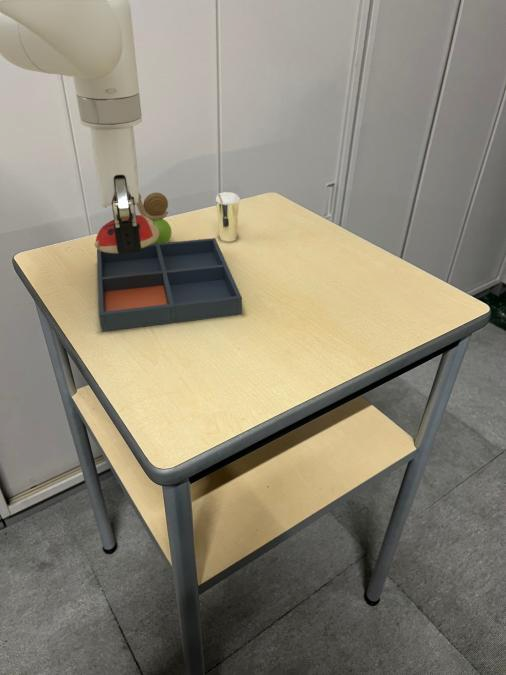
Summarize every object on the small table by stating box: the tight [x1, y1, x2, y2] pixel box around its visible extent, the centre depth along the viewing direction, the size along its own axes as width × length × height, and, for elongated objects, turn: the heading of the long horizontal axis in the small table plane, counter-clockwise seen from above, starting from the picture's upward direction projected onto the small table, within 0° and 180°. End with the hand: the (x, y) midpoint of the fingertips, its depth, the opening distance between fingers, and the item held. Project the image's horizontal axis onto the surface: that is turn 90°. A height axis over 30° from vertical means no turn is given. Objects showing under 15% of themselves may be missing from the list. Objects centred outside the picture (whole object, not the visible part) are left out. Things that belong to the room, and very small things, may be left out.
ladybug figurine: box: [94, 214, 159, 253], centre depth 74 cm, size 7×10×4 cm
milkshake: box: [215, 191, 241, 243], centre depth 99 cm, size 4×5×10 cm
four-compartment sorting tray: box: [96, 237, 243, 333], centre depth 86 cm, size 21×21×3 cm
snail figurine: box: [135, 192, 173, 244], centre depth 96 cm, size 5×6×12 cm
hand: (127, 238), depth 75 cm, fingers closed on ladybug figurine, 7 cm apart
